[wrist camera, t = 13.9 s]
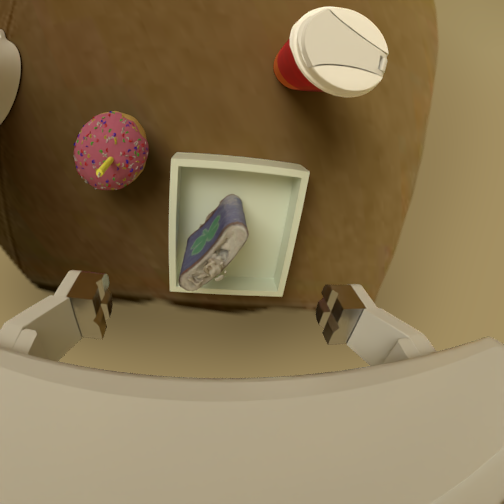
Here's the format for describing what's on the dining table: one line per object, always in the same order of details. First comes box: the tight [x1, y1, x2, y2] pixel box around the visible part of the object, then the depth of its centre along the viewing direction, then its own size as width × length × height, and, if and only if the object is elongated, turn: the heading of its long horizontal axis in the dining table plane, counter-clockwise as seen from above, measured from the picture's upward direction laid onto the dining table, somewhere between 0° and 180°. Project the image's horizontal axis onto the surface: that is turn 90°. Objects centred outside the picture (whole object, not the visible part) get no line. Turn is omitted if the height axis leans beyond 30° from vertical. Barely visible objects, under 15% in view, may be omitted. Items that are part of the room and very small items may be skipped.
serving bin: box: [169, 152, 310, 297], centre depth 33 cm, size 15×17×4 cm
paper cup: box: [274, 7, 388, 97], centre depth 20 cm, size 8×8×14 cm
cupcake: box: [74, 111, 149, 190], centre depth 23 cm, size 9×8×12 cm
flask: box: [179, 194, 249, 291], centre depth 29 cm, size 9×3×11 cm, turn 136°
